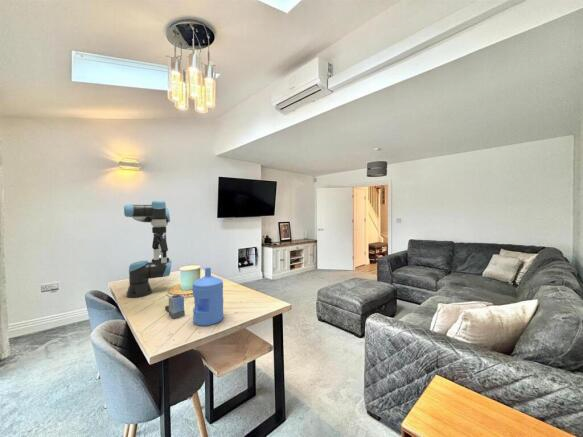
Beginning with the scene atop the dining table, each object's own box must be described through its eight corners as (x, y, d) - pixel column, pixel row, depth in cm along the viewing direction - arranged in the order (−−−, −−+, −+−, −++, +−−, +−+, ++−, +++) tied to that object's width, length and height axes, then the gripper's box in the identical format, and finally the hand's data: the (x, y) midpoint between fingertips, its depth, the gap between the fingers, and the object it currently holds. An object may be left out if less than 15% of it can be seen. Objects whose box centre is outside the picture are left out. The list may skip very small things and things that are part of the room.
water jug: (215, 311, 143) (214, 264, 142) (228, 319, 131) (228, 268, 130) (188, 319, 132) (187, 268, 131) (200, 329, 120) (199, 273, 120)
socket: (169, 310, 136) (168, 296, 136) (179, 307, 141) (179, 294, 141) (173, 313, 132) (172, 299, 132) (184, 310, 137) (183, 296, 136)
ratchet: (162, 310, 144) (162, 297, 144) (173, 307, 148) (172, 294, 148) (173, 319, 132) (173, 304, 132) (184, 315, 136) (184, 301, 136)
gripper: (146, 226, 153) (146, 259, 153) (159, 227, 136) (160, 265, 136) (158, 225, 158) (159, 257, 159) (173, 226, 141) (174, 263, 142)
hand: (160, 261), depth 148 cm, fingers open, 13 cm apart
